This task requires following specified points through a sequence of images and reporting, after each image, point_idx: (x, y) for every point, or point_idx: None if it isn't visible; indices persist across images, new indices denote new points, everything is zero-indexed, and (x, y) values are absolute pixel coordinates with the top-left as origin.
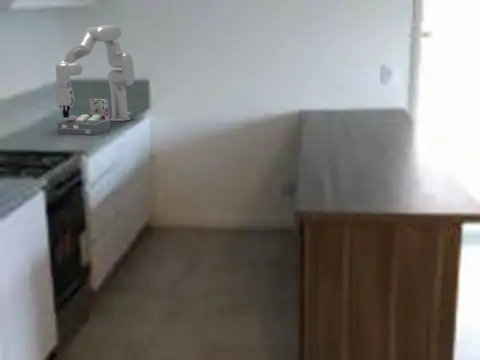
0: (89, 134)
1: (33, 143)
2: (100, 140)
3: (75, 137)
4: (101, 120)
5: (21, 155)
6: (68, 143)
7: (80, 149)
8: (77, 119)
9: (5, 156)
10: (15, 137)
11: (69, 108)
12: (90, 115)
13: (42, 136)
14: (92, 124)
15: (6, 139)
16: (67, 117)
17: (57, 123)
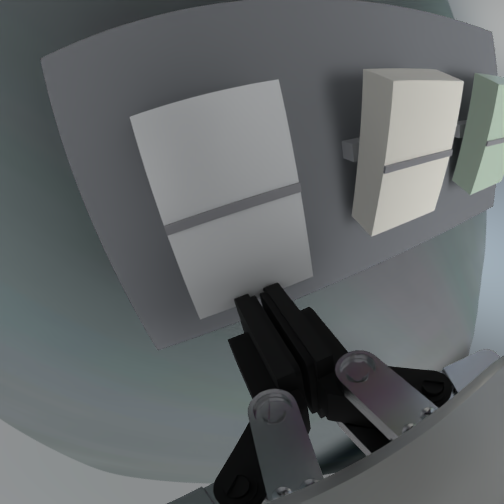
0: None
1: None
2: (481, 251)
3: (378, 285)
4: (465, 36)
5: (353, 454)
6: (405, 354)
7: (457, 351)
8: (390, 227)
9: (324, 474)
10: (79, 447)
11: (406, 381)
12: None
13: (166, 389)
14: (482, 206)
15: (99, 468)
16: (258, 294)
17: (161, 344)
